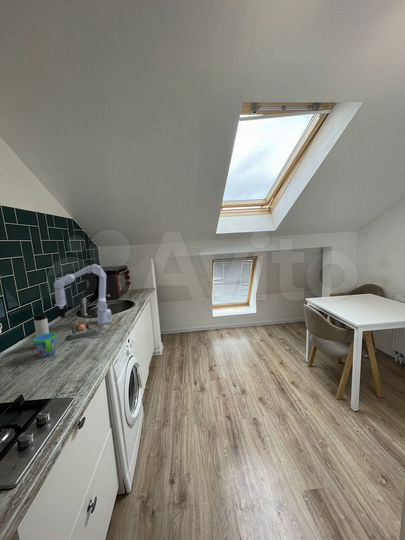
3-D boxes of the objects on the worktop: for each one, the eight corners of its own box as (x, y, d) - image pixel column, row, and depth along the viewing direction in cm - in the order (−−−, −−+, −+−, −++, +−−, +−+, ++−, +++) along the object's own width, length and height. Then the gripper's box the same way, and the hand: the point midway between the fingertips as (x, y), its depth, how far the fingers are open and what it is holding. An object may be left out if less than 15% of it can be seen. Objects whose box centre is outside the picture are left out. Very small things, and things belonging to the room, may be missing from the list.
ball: (85, 328, 160) (84, 323, 159) (85, 330, 157) (85, 324, 156) (78, 329, 158) (78, 324, 157) (79, 331, 154) (78, 326, 154)
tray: (94, 329, 157) (94, 325, 156) (96, 334, 149) (95, 330, 149) (70, 335, 149) (70, 330, 149) (71, 340, 141) (70, 335, 141)
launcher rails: (88, 324, 168) (88, 322, 168) (90, 329, 157) (90, 328, 157) (73, 327, 163) (73, 325, 163) (74, 333, 152) (74, 331, 152)
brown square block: (85, 324, 166) (85, 320, 166) (86, 327, 161) (86, 323, 161) (76, 326, 163) (76, 322, 163) (77, 329, 158) (76, 325, 158)
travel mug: (44, 348, 132) (40, 315, 129) (35, 347, 133) (30, 314, 130) (53, 343, 138) (49, 311, 135) (44, 342, 139) (40, 311, 136)
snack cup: (34, 352, 127) (32, 335, 126) (56, 346, 134) (54, 329, 132) (36, 363, 115) (33, 344, 114) (60, 356, 122) (58, 338, 120)
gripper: (53, 296, 161) (56, 314, 163) (53, 300, 148) (55, 320, 150) (65, 294, 164) (67, 312, 166) (65, 298, 152) (68, 318, 154)
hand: (62, 316), depth 159 cm, fingers open, 7 cm apart
